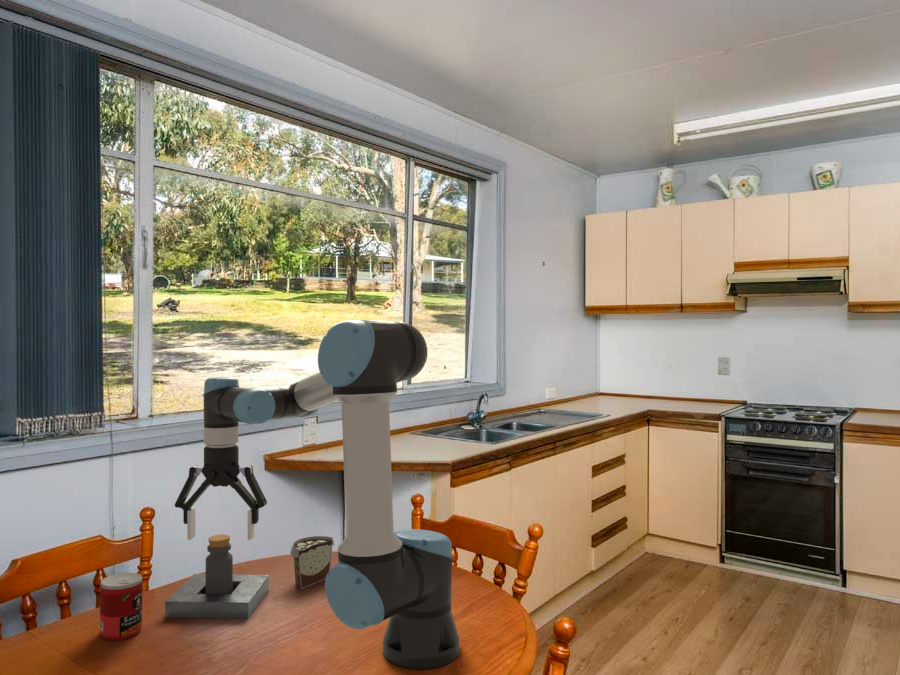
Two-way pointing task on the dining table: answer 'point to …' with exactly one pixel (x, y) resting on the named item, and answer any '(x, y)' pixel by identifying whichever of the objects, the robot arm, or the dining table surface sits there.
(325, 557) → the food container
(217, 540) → the bottle
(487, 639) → the dining table surface
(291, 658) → the dining table surface
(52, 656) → the dining table surface
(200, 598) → the plate
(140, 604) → the canned food
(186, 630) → the dining table surface
